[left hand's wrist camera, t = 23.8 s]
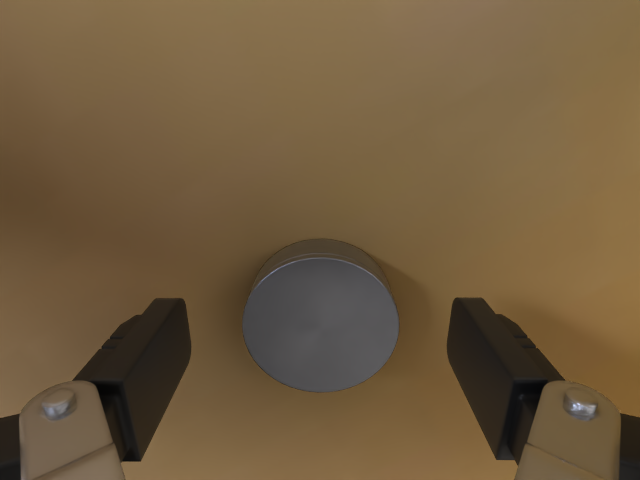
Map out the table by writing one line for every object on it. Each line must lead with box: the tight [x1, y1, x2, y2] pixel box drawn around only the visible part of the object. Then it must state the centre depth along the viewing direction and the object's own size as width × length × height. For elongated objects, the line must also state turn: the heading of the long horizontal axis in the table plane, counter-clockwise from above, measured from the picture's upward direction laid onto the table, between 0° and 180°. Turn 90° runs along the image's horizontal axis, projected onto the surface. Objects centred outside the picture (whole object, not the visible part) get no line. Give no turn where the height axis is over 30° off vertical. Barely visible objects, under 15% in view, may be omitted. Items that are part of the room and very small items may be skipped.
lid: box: [242, 239, 399, 392], centre depth 13 cm, size 5×5×2 cm
